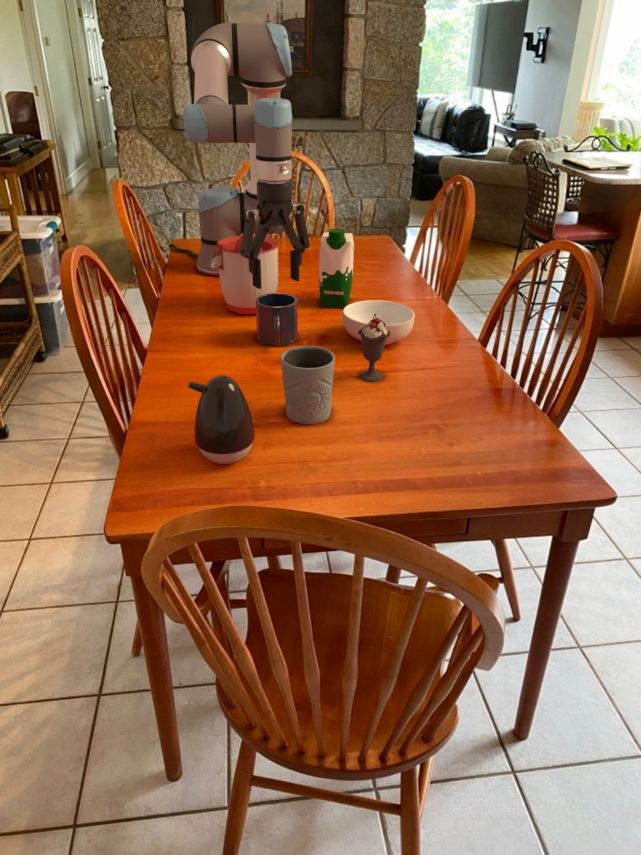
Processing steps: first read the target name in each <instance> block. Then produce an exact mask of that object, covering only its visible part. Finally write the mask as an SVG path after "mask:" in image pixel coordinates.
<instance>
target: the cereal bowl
mask: <svg viewBox="0 0 641 855" xmlns="http://www.w3.org/2000/svg"><path fill="white" fill-rule="evenodd" d="M342 309H343V310H342V323H343V327H344V329H345V331H346V332H347V333H348V334H349V335H351V336H352V337H353V338H355V339H357V340H359V341H360V342H362V340H361V335H359V334H358V331H359V330H360V329H361V328H363V327H366V326H367V325H368V323H369V322H370V321H371V320H372V319H375V317H376V318H379V319H380V320H381V321H383V322H384V323H385V328H386V329H388V330H389V332H390V337H388V338H386V341H385V345H384V346H388V345H390V344H393V343H395V342H399V341H401V340H403V339H405V338H406V337H407V336H408V335H409V334H410V333H411V331H412V330H413V327H414V324H415V320H416V319H415V318H416V316H415V312H414V310H413V309H412V308H411V307H409V306H408V305H405V304H403V303H400V302H395V301H391V300H381V299H369V300H368V299H367V300H361V301H356V302H355V301H354V302H351V303H348V305H347V306H346V307H345V308H342ZM375 313H376V316H374V314H375ZM373 317H374V318H373Z"/></svg>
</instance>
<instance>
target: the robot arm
mask: <svg viewBox="0 0 641 855" xmlns="http://www.w3.org/2000/svg"><path fill="white" fill-rule="evenodd" d="M289 42H290V41H289V36H288V31H287V29H286V26H284V25H282V24H278V23H269V22H221V23H218V24H216V25H214V26H211V27H210V28H208V29H206V30H205V31H204V32H203V33H202V34H201V35H200V36H199V37H198V39H196V41H195V42H194V44H193V46H192V49H191V55H190V63H191V68H192V71H193V73H194V96H193V97H194V98H193V99H194V100H193V104H192V103H191V104H186V105H184V107H183V126H184V136H185V138H186V140H187V141H188V142H189V143H197V144H203V145H205V144H249V168H250V169H249V170H250V172H249V174H250V181H249V182H248V183H247V184H246V185H245V192H239V189H238V187H237V186H234V185H233V186H229V185H227V186H226V185H225V186H216V187H213V188H212V187H211V188H209V189H206V190H204V191H202V192H201V193H199V195H198V198H197V199H198V200H197V201H198V203H197V204H198V208H197V212H198V216H199V231H200V247H199V251H198V253H194V252H193V251H192V250H191V249H188V248H181V247H178V246H176V245H175V244H174V243H169V245H168V248H169V249H171V248H173V249H174V250H176V251H177V252H182V253H189V254H190V255H191V256H192V257H194V258H197V259H196V270H197V271H198V272H199V273H200V274H202V275H207V276H213V277H220V276H219V267H217V268H211V262H212V259H213V258H215V257H218V253H217V243H218V242H219V241H220V240H222V239H225V238H229V237H234V236H241V235H243V237H242V243H241V249H240V255H241V256H243V257H245V258H247V259H248V260H249V272H250V273H252V278H253V286H254V287H256V288H258V289H262V288H261V260H260V259H258V255H259V253H260V250H261V248H262V245H263V243H264V240H265V238H266V237H267V235H274V234H282V233H285V234H286V237H287V238H288V240H289V243H290V246H292V248H293V249H292V250H290V251H289V260H290V262H289V263H290V264H289V265H290V266H289V267H290V271H289V273H290V276H289V277H290V280H293V281H295V282H300V266H302V265H303V254H304V253H306V252H305V251H306V249H309V248H310V247H311V244H310V243H311V242H310V238H309V234H308V229H307V225H306V220H305V205H304V204H301V203H300V202H299V203H298V202H295V203H293V202H292V199H293V182H292V181H291V179H292V178H293V155H292V153H293V152H292V148H293V147H292V143H293V140H292V139H293V127H292V126H293V114H292V113H293V112H292V103H291V101H290V100H289V99H287V98H283V97H282V98H281V91H282V90H283V88H285V87H286V85H287V78H289V77H291V76H292V74H293V71H292V70H293V69H292V57H291V50H290V43H289ZM230 76H231V77H241V78H240V79H241V81H240V82H241V85H242V86H243V87H244V88H245V89H246V91H247V104H229V88H228V86H229V85H228V77H230ZM291 213H293V218H294V224H295V227H294V226H293V222H292V220H291ZM295 228H296V230H295ZM296 232H297V233H296ZM253 236H254V239H253Z"/></svg>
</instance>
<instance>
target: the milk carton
mask: <svg viewBox="0 0 641 855" xmlns="http://www.w3.org/2000/svg"><path fill="white" fill-rule="evenodd" d="M353 237H354V236H353V233H352V232H350V233H349V232H346V231H345V229H342V228H329V230H328V232H327V231H326V232H325V231H323V234H322V235H321V240H320V244H319V257H318V258H319V259H318V260H319V261H318V262H319V264H318V265H319V266H318V267H319V268H318V273H319V274H318V292H319V298H320V299H319V300H320V308H331V309H344V308H345V307H346V306H347V305H349V301H350V296H351V293H352V288H353V279H354V278H353V276H354V251H355V242H354V238H353Z"/></svg>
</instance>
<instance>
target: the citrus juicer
mask: <svg viewBox="0 0 641 855" xmlns="http://www.w3.org/2000/svg"><path fill="white" fill-rule="evenodd" d="M254 236H255V235H254ZM254 236H253V239H254ZM242 237H243V234H241V235H240V236H234V237H229V238H225V239H222V240H220V241H219V242H218V243H217V253H218V257H215V258H213V259H212V262H211V268H217V267H219V276H218V277H219V284H220V288H221V292H222V295H223V298H224V302H225V305H226V306H227V308H228V309H229V311H231V312H233V313H236V314H238V315H256V298H258V297H259V296H261V295H264V294H269V293H278V286H279V245H280V243H279V242H278V241H277V240H276V239H274V238H272V237H268V236H266V238H265V240H264V243H263V245H262V248H261V250H260V253H259V255H258V259H260V260H261V288H262V289H258V288H256V287H254V286H253V278H252V273H250V272H249V260H248V259H247V258H245V257H243V256H241V255H240V249H241V243H242Z"/></svg>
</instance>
